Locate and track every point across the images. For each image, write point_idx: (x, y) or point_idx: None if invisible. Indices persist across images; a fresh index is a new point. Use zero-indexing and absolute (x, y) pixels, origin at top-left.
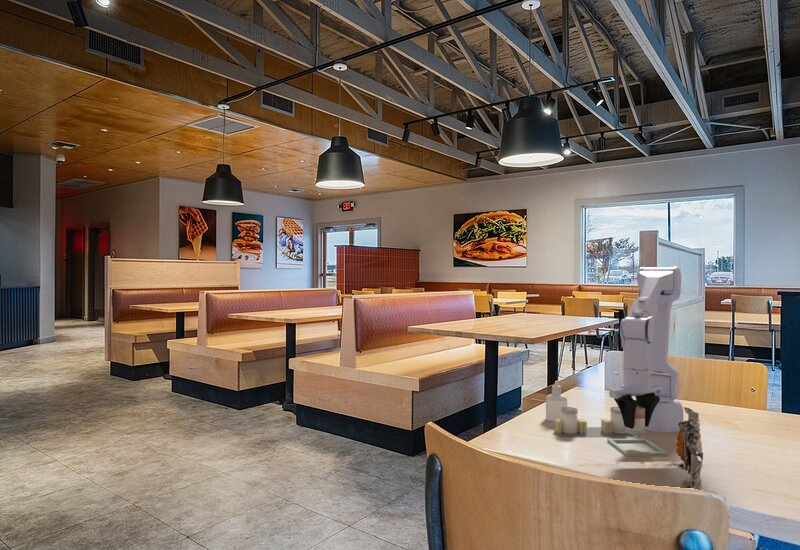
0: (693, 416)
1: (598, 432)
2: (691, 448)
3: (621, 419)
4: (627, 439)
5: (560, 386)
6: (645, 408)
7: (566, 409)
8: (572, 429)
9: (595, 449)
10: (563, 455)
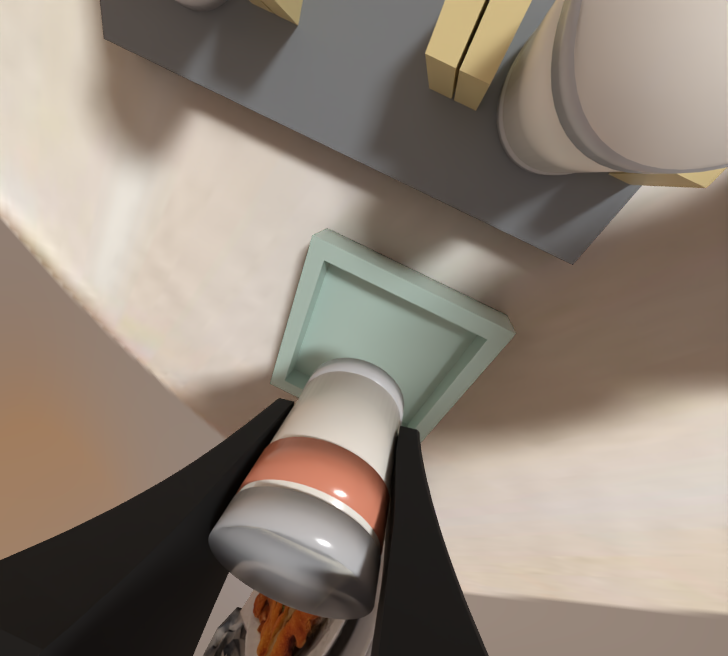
0: None
1: (401, 37)
2: (237, 622)
3: (561, 155)
4: (407, 293)
5: None
6: (380, 600)
7: None
8: None
9: (251, 234)
10: (105, 228)
